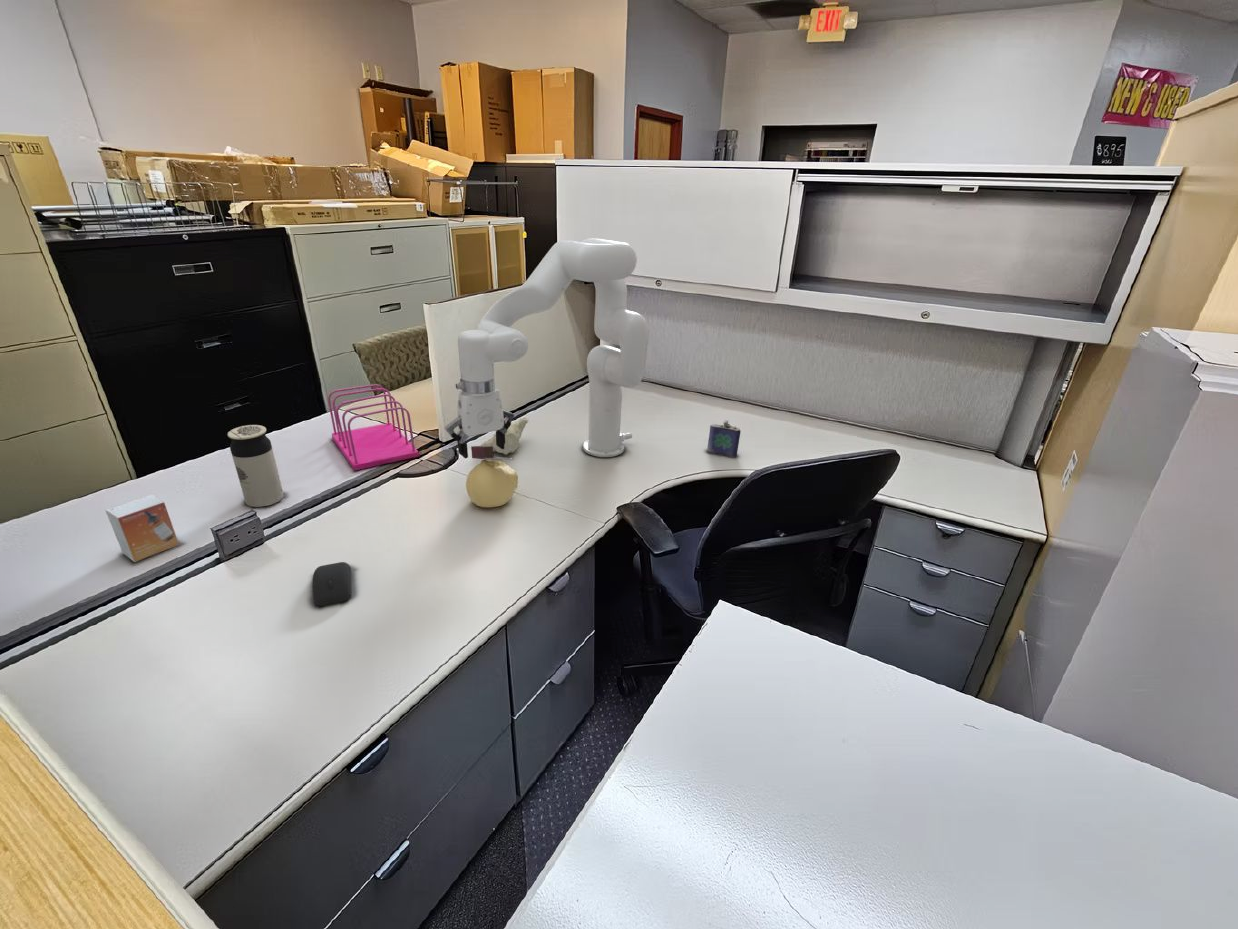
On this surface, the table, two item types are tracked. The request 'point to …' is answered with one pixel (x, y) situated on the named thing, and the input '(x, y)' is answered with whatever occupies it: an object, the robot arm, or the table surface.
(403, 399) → the table surface
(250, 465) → the travel mug
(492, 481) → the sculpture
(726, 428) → the flask
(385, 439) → the file sorter
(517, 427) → the white jagged rock
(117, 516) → the small box
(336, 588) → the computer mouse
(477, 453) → the knife
